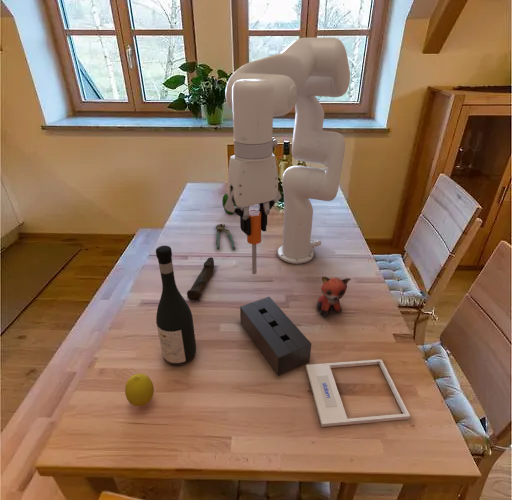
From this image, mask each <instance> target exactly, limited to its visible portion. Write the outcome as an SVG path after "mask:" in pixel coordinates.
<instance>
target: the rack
mask: <svg viewBox="0 0 512 500" xmlns="http://www.w3.org/2000/svg"><path fill="white" fill-rule="evenodd" d="M239 312H240V316H239V317H240V325H241V327H242V328H243V329H244V330H245V332H246V333H247V335H248V337H249V338H250V339H251V340H252V342H253V343H254V345H255V346H256V347H257V349H258V350H259V352H260V353H261V354H262V356H263V357H264V359H265V360H266V361H267V363H268V364H269V366H270V367H271V369H272V370H273V371H274V373H275V374H276V376H278V377H279V376H281V375H284V374H285V373H288V372H290V371H292V370H294V369H295V370H296V368H300V367H301V366H304V365H307V364H308V363H310V362H311V354H312V353H311V352H312V342H311V341H310V340H309V339H308V338H307V336H305V334H304V333H303V332H302V331H301V330H300V329H299V328H298V326H296V324H294V322H293V321H292V320H291V319H290V318H289V317H288V315H286V313H285V312H284V311H283V310H282V309H281V308H280V307H279V305H277V303H276V302H275V301H274V300H273V298H271V296H267V297H263V298H261V299H259V300H254V301H252V302H249V303H246V304H243V305H241V306H239Z"/></svg>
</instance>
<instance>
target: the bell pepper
mask: <svg viewBox="0 0 512 500" xmlns="http://www.w3.org/2000/svg"><path fill="white" fill-rule="evenodd" d="M227 199H228V193H225V194H223V196H222V200H221V201H222V203H221V204H222V206H223V209H224V212H225V213H226V214H228V215H229V216H230V215H235V213H232V212H229V211H227V210H226V209H225V208H224V206H225V204H226V202H227ZM234 206H236V203H235V204H234ZM236 207H237V206H236Z"/></svg>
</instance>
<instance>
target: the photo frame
mask: <svg viewBox="0 0 512 500" xmlns="http://www.w3.org/2000/svg"><path fill="white" fill-rule="evenodd" d="M373 365H374V366H375V365H379V367H380V369H381V371H382V373H383V375H384V378H385V379H386V381H387V384H388V386H389V387H390V390H391V392H392V394H393V396H394V398H395V400H396V402H397V404H398V406H399V408H400V410H401V412H402V413H397V414H384V415H383V414H382V415H373V416H361V417H349V418H348V416H347V413H346V410H345V407H344V405H343V401H342V399H341V396H340V393H339V390H338V387H337V383H336V380H335V378H334V375H333V372H332V369H333V368H334V369H335V368H336V369H337V368H347V367H360V366H361V367H362V366H373ZM305 370H306V374H307V378H308V380H309V385H310V389H311V392H312V396H313V400H314V404H315V408H316V411H317V415H318V419H319V423H320V426H321V427H322V428H324V427H334V426H336V427H337V426H347V425H348V426H349V425H357V424H368V423H379V422H381V423H382V422H392V421H402V420H410V419H411V414H410V413H409V411H408V409H407V407H406V405H405V402H404V401H403V399H402V397H401V395H400V393H399V392H398V389H397V387H396V385H395V383H394V381H393V379H392V377H391V375H390V373H389V371H388V369H387V367H386V365H385V363H384V360H383V359H382V358H378V359H364V360H353V361H351V360H350V361H338V362H327V363H326V362H324V363H312V364H305Z"/></svg>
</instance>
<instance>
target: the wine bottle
mask: <svg viewBox="0 0 512 500" xmlns="http://www.w3.org/2000/svg"><path fill="white" fill-rule="evenodd" d="M155 254H156V255H155V257H156V258H157V261H158V262H157V263H158V266H159V272H160V278H161V284H162V287H161V288H162V291H161V296H160V299H159V302H158V305H157V308H156V317H155V323H156V329H157V333H158V338H159V343H160V350H161V355H162V357H163V359H164V361H165V362H166V363H168V365H172V366H182V365H185V364H187V363H189V362H191V361H192V360H193V359H194V358H195V355H196V353H197V342H196V341H197V340H196V334H195V326H194V325H195V324H194V317H193V313H192V310H191V308H190V306H189V304H188V302H187V301H186V300H185V298H184V296H183V295H182V294H181V292H180V290H179V289H178V286H177V284H176V278H175V271H174V263H173V257H172V256H173V250H172V248H171V247H170V246H169V245H160V246H157V248H156V249H155Z"/></svg>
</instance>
